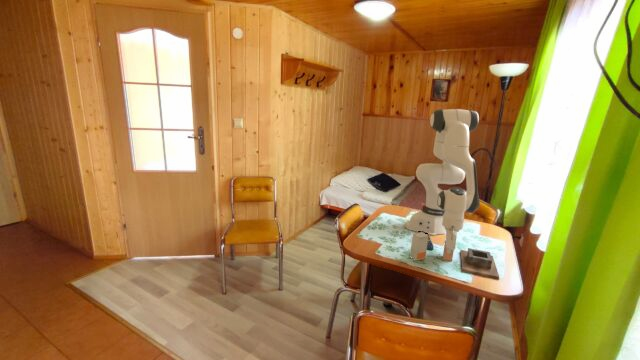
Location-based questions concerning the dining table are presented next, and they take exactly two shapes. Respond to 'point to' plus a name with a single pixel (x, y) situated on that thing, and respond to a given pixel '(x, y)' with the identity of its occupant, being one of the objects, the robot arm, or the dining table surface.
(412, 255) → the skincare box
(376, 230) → the dining table surface
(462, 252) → the socket holder
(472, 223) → the dining table surface
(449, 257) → the square peg
